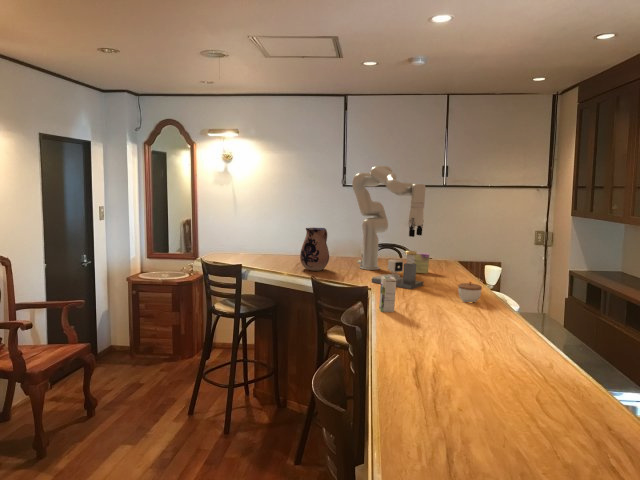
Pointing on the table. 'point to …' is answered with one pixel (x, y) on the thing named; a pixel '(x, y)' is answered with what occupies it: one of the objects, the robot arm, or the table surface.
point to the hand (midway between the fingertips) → (415, 235)
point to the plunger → (410, 256)
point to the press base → (404, 278)
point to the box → (421, 262)
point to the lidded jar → (469, 292)
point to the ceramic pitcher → (315, 249)
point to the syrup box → (387, 294)
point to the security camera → (395, 266)
